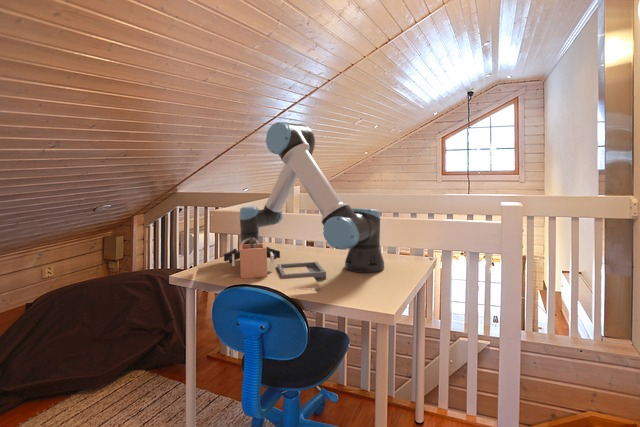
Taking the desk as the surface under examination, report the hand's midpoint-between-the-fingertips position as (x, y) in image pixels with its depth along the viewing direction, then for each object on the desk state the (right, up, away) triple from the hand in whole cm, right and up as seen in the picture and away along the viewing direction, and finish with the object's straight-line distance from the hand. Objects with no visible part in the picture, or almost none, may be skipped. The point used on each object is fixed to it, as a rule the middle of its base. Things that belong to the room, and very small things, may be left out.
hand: (253, 261), depth 138 cm
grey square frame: (+16, -6, +7) cm, 19 cm away
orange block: (0, -5, +4) cm, 6 cm away
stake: (0, -7, +4) cm, 8 cm away
